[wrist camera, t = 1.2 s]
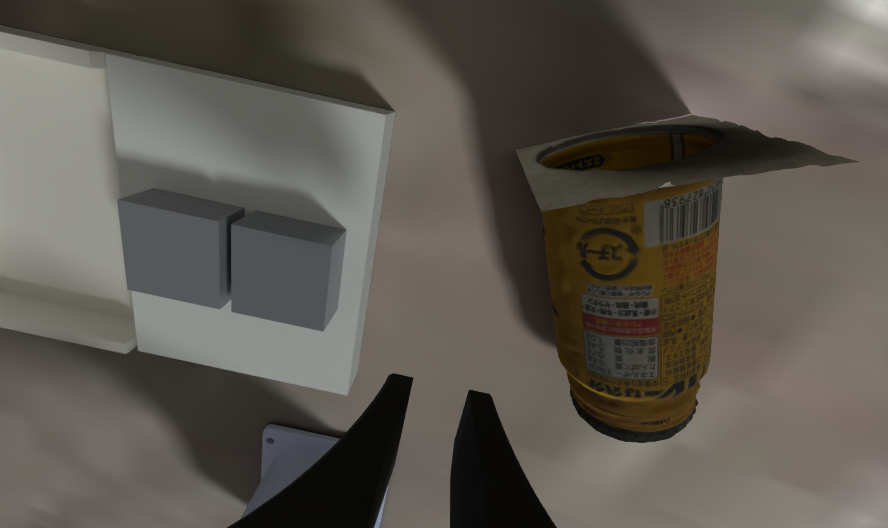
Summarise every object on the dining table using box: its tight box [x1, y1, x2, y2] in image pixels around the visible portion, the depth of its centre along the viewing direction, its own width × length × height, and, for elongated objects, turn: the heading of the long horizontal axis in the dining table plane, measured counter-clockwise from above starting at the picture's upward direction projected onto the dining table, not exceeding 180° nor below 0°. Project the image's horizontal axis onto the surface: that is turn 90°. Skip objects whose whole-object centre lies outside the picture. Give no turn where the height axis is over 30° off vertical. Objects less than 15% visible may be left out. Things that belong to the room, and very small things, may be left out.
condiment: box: [515, 115, 859, 443], centre depth 16 cm, size 7×8×12 cm
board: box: [105, 53, 395, 395], centre depth 20 cm, size 14×11×2 cm
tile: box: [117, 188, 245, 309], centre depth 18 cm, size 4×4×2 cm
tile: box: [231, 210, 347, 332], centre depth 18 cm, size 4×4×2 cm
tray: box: [0, 25, 137, 354], centre depth 20 cm, size 14×10×2 cm
